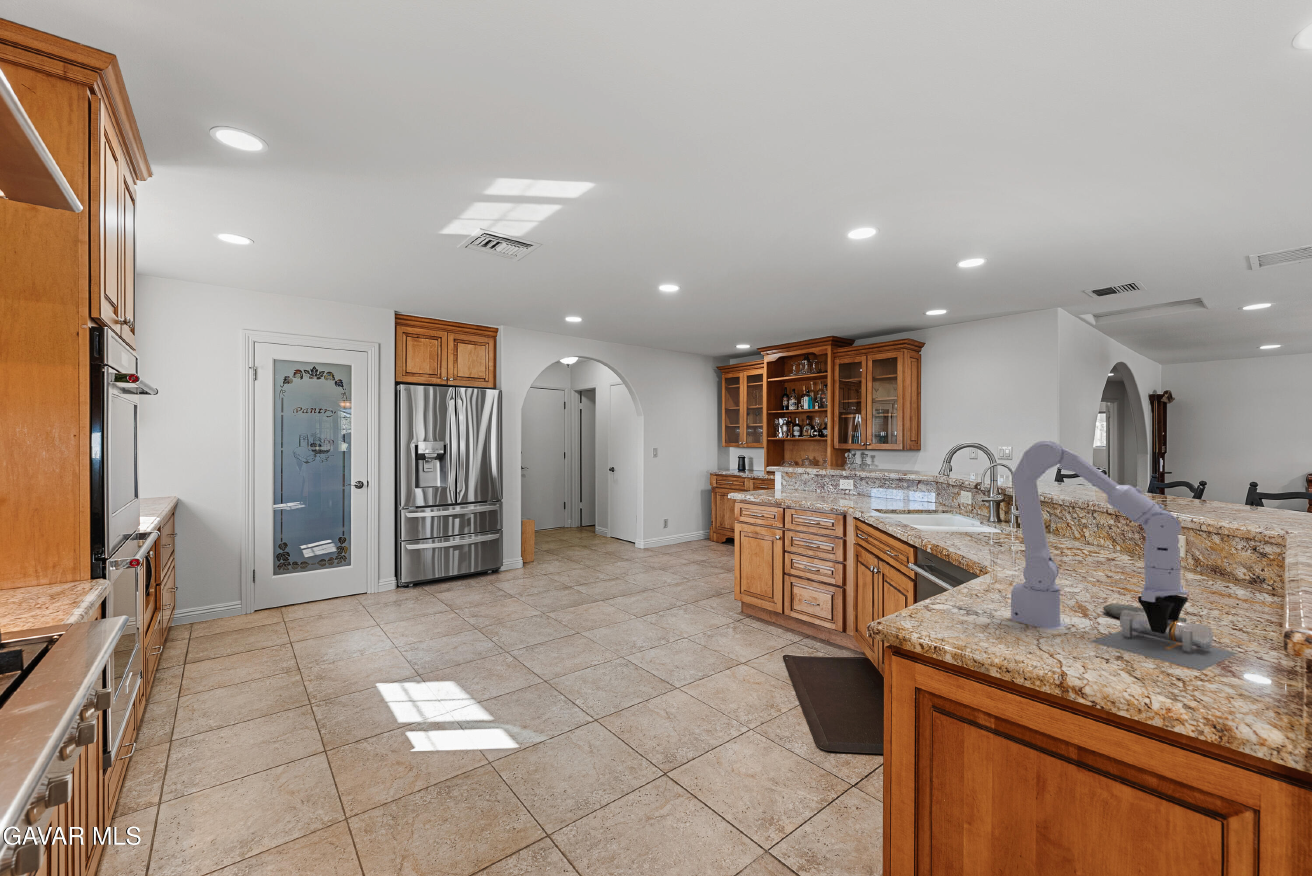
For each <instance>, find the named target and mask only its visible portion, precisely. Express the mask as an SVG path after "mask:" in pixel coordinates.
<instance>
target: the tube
mask: <svg viewBox="0 0 1312 876" xmlns="http://www.w3.org/2000/svg"><path fill="white" fill-rule="evenodd" d="M1124 616H1126V617H1131V618H1132V632H1136V633H1140V634H1144V635H1149V636H1153V637H1157V638H1162V639H1166V640H1170V641H1174V642H1179V643H1182V630H1184V629H1186V630H1191V631H1192V634H1193V646H1196V647H1201V648H1205V649H1210V647H1212V645H1213V640H1214V633H1213V629H1212V628H1211V627H1210V626H1207V625H1206V626H1201V625H1202V624H1201V625H1197V624H1195V623H1190V622H1187V621H1186V622H1182V621H1177V620H1172V619H1168V622H1167V629H1166V632H1165V634H1161V633H1157V632H1152V631H1151V628H1150V625H1149V622H1148V619H1147V616H1146V614H1143V613H1138V612H1133V611H1128V610H1123V611H1122V613H1121V616H1120V618H1119V626H1120V628H1121V629H1122V630H1123V617H1124Z"/></svg>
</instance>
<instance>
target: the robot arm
mask: <svg viewBox="0 0 1312 876" xmlns="http://www.w3.org/2000/svg"><path fill="white" fill-rule="evenodd" d="M1057 465H1059V466H1058V468H1057V469H1059V470H1064V471H1069V472H1073V473H1075V474H1076V475H1078V476H1079V477H1081V478H1082V479H1084V480H1085V481H1086V482H1088V483H1089V484H1091V485H1092V486H1093V487H1095V488H1096V489H1099V490H1100V491H1101V492H1103V493H1104V494H1105V495H1106V496H1107V503H1108V505H1109V506H1112V507H1113V508H1114V509H1115V510H1117V511H1118V512H1119V513H1121V514H1122V515H1124V516H1125V517H1126V518H1128V519H1129V520H1130V521H1131V522H1133V523H1134V524H1137V525H1138V524H1139V525H1142V527H1143V530H1144V532H1145V543H1144V544H1143V549H1144V550H1143V553H1144V554H1143V555H1144V556H1143V558H1144V559H1143V560H1144V585H1143V589H1142V590H1141V593H1140V595H1139V596H1138V597H1137V602H1138V603H1139V604H1140V606H1141V608H1143V609H1144V611H1145V613H1146V616H1147V619H1148V622H1149V625H1150V628H1151V631H1152V632H1157V633H1161V634H1165V632H1166V629H1167V622H1168V619H1172V620H1177V621H1178V619H1179V617H1180V615H1181V612H1182V610H1183V608H1184V606H1185V605H1186V604H1187V603H1188V600H1189V598H1188V596H1187V595H1189V591H1188V590H1185V589H1184V585H1183V584H1182V582H1181V578H1182V577H1181V547H1180V546H1179V544H1180V538H1179V535H1181V533H1182V527H1181V523H1180V521H1179V520H1178V519H1177V517H1176V516H1175V515H1174V514H1172V513H1171V512H1170V511H1169V510H1166V509H1165V506H1164V505H1162V504H1161V503H1158V504H1157V503H1156V502H1155V501H1153V500H1152V499H1150V498H1149V497H1148V496H1146V495H1144V494H1143V490H1142V489H1141V488H1140V487H1138V486H1136V487H1133V486H1132V485H1130V484H1118V483H1117V482H1116V481H1114V480H1113V479H1111V478H1110V477H1109V476H1108V475H1106V474H1105V473H1103V472H1102V471H1100V470H1099V469H1098V468H1097V467H1095V466H1094V465H1093V464H1092V463H1090V462H1089V461H1087V460H1086V459H1084V458H1083V457H1082V456H1081V455H1079V454H1077V453H1076V452H1074V451H1071V450H1069V449H1067V448H1066V447H1062V446H1061V445H1060V444H1059V443H1057V442H1055V441H1052V440H1040V441H1037V442H1035V443H1034V444H1032V445H1031V446H1029V448H1028V449H1026V450H1025V451H1024V452H1023V455H1022V456H1021V458H1020V460H1019V462H1018V464H1017V466H1016V467H1015V469H1014V471H1013V473H1012V482H1013V489H1014V494H1015V499H1016V504H1017V509H1018V510H1017V511H1018V516H1019V523H1020V526H1021V532H1022V533H1021V534H1022V538H1023V543H1024V560H1025V567H1024V568H1023V572H1022V575H1023V576H1022V577H1023V580H1025V581H1024V582H1023V583H1015V584H1014V585H1013V587H1012V589H1011V592H1010V610H1011V611H1010V618H1009V620H1012V621H1016V622H1019V623H1022V624H1026V625H1031V626H1034V627H1038V628H1042V629H1045V630H1049V631H1053V630H1056V629H1059V628H1063V627H1066V626H1069V623H1066V622H1065V623H1064V622H1061V588H1060V586H1059V585H1058V584H1057V583H1056V580H1057V578H1058V577H1059V573H1060V572H1059V571H1060V570H1059V567H1058V565H1057V563H1056V562H1055V561H1054V559H1053V558H1052V557H1053V556H1052V553H1051V552H1052V551H1051V550H1050V547H1049V543H1048V538H1047V533H1046V527H1045V519H1044V515H1043V511H1042V504H1041V499H1040V494H1039V489H1038V482H1037V481H1038V480H1039V479H1040V478H1041V477H1042V476H1043V475H1044V474H1045V473H1046V472H1047V471H1048V470H1050V469H1052V468H1053V467H1056V466H1057Z"/></svg>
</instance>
